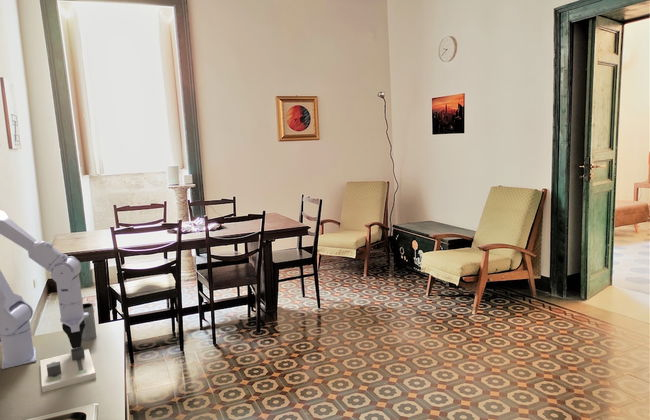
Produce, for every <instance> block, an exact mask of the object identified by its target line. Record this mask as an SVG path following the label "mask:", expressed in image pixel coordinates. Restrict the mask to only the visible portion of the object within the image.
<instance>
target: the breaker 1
mask: <svg viewBox="0 0 650 420" xmlns="http://www.w3.org/2000/svg"><path fill="white" fill-rule="evenodd" d="M47 373H48V377H49V376H53V375H57V374H61V366H60V362H56V363H52V364H47Z"/></svg>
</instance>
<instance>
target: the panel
mask: <svg viewBox="0 0 650 420" xmlns="http://www.w3.org/2000/svg"><path fill="white" fill-rule="evenodd" d="M89 349H90V348H87V349H84V355H85V358H81V359H77V360H72V354H71V352H69V353H65V354H61V355H57V356H53V357H49V358H44V359H40V360H39V362H40V363H39V364H40V379H41V390H42V393H45V392H49V391H52V390H56V389H60V388H64V387H68V386H72V385H75V384H80V383H83V382H87V381H90V380H94V379H97V375H96V370H95V366H94V362H93V359H92V356H91V355H92V354H91V353H90V350H89ZM56 362H60V366H61V374H57V375H53V376H49V377H48V373H47V364H52V363H56Z"/></svg>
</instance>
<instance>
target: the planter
mask: <svg viewBox="0 0 650 420" xmlns="http://www.w3.org/2000/svg"><path fill="white" fill-rule="evenodd" d="M94 310H95V309H94V305H93V303H89V302H88V303H87V302H85V303H83V311H84V313H86V312H88V314H89V316H88V317H85V318H84V321H85V328H84V330H83V333H82V342H83V341H85V342H86V341H87V342H88V341H90V340H93V339H96V337H97V329H96V320H95V313H94Z"/></svg>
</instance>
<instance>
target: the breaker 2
mask: <svg viewBox="0 0 650 420" xmlns="http://www.w3.org/2000/svg"><path fill="white" fill-rule="evenodd" d="M84 350H85V348H84V346H81V347H79V348H74V349H73V348H71V349H70V353H71V354H72V360H77V359H81V358H85V355H84Z"/></svg>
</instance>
